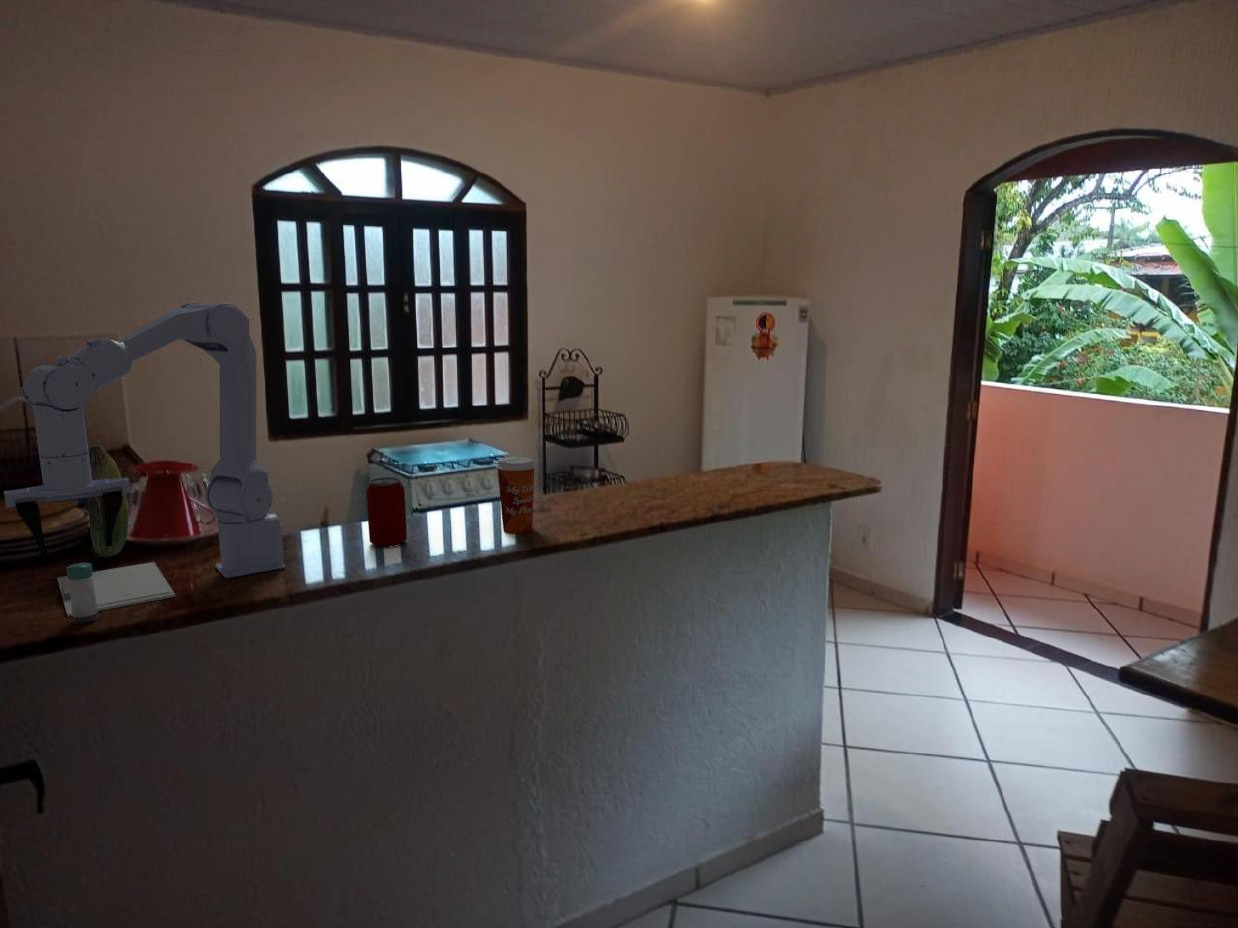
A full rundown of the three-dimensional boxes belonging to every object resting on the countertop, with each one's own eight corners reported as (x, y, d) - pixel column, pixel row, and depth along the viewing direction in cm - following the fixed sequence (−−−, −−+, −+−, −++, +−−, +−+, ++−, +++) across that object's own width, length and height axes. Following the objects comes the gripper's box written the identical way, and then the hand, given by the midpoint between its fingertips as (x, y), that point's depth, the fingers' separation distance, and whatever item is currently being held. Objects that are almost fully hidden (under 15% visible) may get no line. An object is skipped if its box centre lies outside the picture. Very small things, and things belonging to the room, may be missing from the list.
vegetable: (128, 549, 155) (115, 440, 152) (138, 556, 151) (125, 445, 147) (90, 556, 151) (76, 444, 147) (99, 564, 147) (85, 449, 143)
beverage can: (410, 538, 162) (407, 476, 160) (403, 548, 156) (399, 484, 153) (374, 538, 162) (371, 476, 160) (365, 549, 155) (361, 484, 153)
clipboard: (154, 564, 147) (153, 556, 147) (175, 596, 131) (174, 587, 131) (57, 580, 139) (56, 571, 138) (67, 616, 123) (66, 607, 123)
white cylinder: (98, 614, 124) (91, 561, 122) (98, 621, 121) (91, 567, 120) (74, 618, 122) (66, 564, 121) (73, 625, 120) (65, 570, 118)
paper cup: (509, 537, 163) (508, 465, 160) (490, 528, 169) (488, 459, 166) (545, 530, 167) (543, 460, 164) (525, 522, 173) (523, 454, 171)
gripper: (121, 444, 124) (131, 534, 127) (-2, 455, 116) (12, 551, 119) (127, 451, 119) (138, 545, 121) (-1, 463, 110) (14, 564, 113)
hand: (76, 549), depth 120 cm, fingers open, 7 cm apart
